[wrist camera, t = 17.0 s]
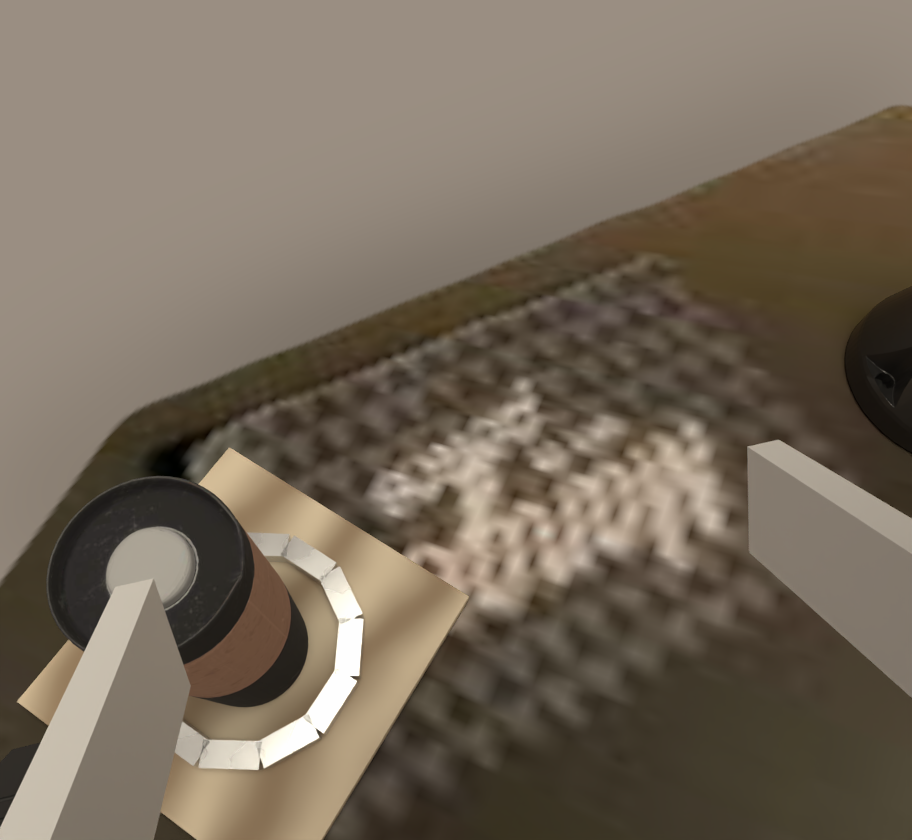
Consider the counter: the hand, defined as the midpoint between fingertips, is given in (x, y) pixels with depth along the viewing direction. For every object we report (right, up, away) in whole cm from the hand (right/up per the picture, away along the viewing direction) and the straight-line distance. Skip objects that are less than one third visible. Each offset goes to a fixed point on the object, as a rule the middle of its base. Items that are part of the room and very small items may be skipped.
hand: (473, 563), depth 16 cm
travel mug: (-13, -11, +31) cm, 35 cm away
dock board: (-13, -12, +32) cm, 37 cm away
